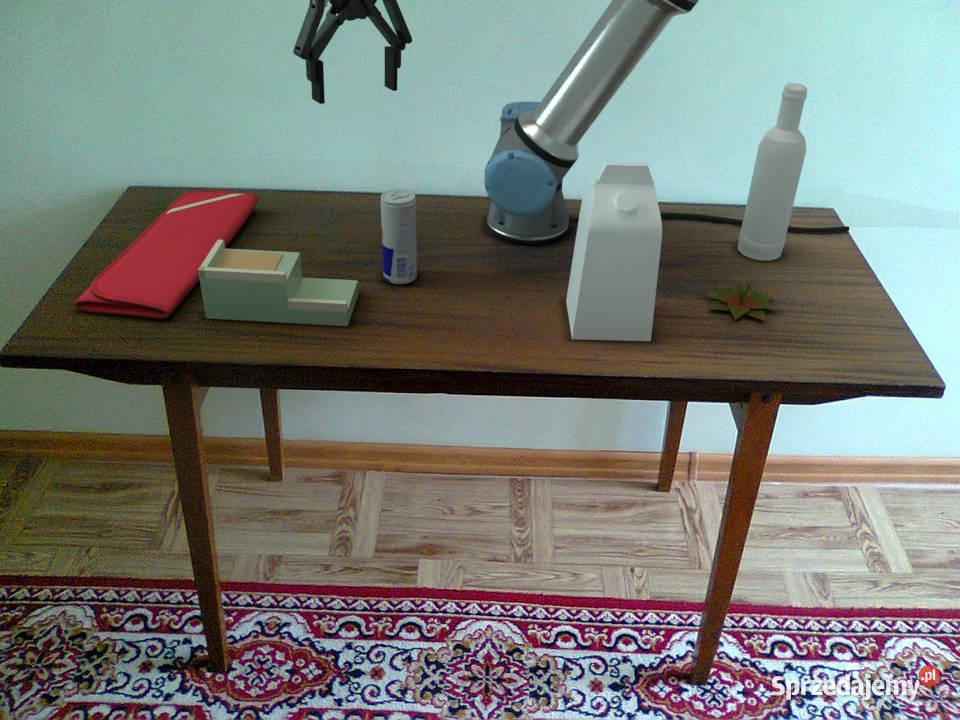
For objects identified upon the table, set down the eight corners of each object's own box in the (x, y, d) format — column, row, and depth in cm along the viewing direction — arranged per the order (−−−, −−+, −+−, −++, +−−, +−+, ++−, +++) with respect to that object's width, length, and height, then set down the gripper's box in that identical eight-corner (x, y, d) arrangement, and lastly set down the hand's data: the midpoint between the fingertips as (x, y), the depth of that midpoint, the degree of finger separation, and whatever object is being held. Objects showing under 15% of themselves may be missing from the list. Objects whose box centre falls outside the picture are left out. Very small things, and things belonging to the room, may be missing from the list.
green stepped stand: (358, 293, 148) (356, 246, 144) (347, 326, 140) (344, 277, 135) (224, 286, 149) (217, 239, 144) (205, 318, 141) (197, 269, 136)
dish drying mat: (73, 311, 141) (68, 290, 139) (183, 203, 175) (180, 185, 173) (170, 322, 140) (166, 301, 137) (262, 210, 173) (260, 192, 171)
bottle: (736, 258, 163) (771, 90, 146) (736, 239, 169) (770, 76, 152) (782, 264, 161) (823, 96, 145) (781, 244, 168) (820, 81, 151)
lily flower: (782, 296, 152) (788, 272, 149) (772, 331, 143) (779, 306, 140) (709, 281, 155) (714, 257, 153) (696, 314, 146) (700, 289, 144)
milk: (639, 302, 149) (662, 149, 134) (650, 341, 139) (676, 181, 125) (566, 300, 148) (580, 147, 134) (572, 339, 139) (588, 178, 124)
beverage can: (419, 271, 155) (418, 188, 147) (414, 287, 151) (412, 203, 142) (386, 268, 156) (384, 186, 147) (380, 284, 151) (377, 201, 143)
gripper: (408, -57, 145) (406, 77, 157) (264, -46, 132) (274, 99, 144) (435, -48, 140) (431, 89, 152) (289, -35, 127) (297, 114, 139)
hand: (355, 94), depth 148 cm, fingers open, 13 cm apart
